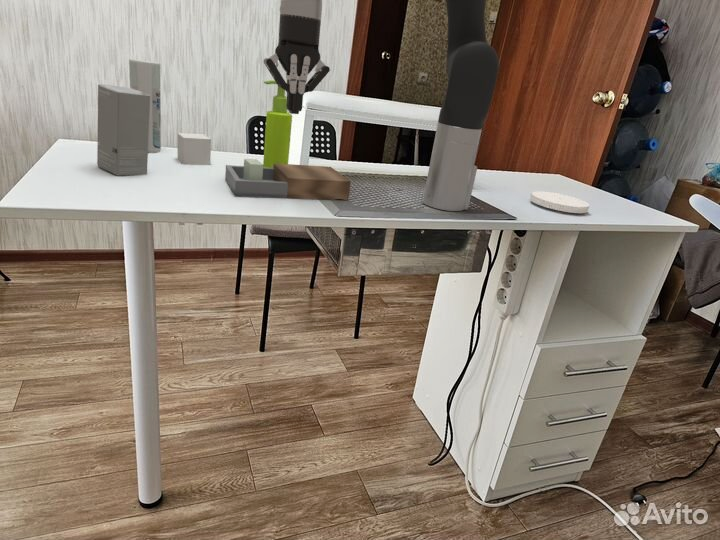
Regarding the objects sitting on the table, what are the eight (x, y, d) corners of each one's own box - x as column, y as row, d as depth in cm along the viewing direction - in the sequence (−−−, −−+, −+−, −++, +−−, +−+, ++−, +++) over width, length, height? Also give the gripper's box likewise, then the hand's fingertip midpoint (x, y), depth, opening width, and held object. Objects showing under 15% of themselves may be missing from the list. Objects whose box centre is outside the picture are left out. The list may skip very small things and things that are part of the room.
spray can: (132, 146, 122) (129, 58, 115) (161, 148, 125) (160, 62, 117) (131, 151, 117) (128, 59, 109) (161, 153, 119) (160, 63, 112)
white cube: (210, 165, 116) (211, 139, 113) (183, 164, 113) (183, 137, 110) (203, 159, 120) (203, 134, 118) (177, 158, 117) (177, 132, 115)
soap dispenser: (256, 165, 122) (261, 78, 114) (283, 166, 125) (290, 82, 117) (262, 171, 117) (268, 80, 109) (290, 172, 120) (298, 84, 112)
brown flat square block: (328, 184, 114) (330, 166, 113) (348, 200, 103) (350, 181, 102) (272, 181, 109) (273, 163, 108) (286, 198, 98) (288, 178, 97)
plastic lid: (517, 199, 129) (520, 190, 128) (559, 201, 135) (562, 192, 134) (554, 216, 118) (557, 206, 117) (598, 217, 123) (602, 208, 122)
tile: (256, 159, 101) (244, 158, 100) (263, 164, 97) (250, 164, 96) (255, 183, 103) (243, 183, 102) (261, 190, 99) (248, 189, 98)
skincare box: (96, 167, 100) (91, 83, 94) (131, 165, 105) (128, 85, 99) (117, 177, 95) (113, 89, 89) (152, 174, 101) (151, 92, 95)
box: (272, 181, 109) (273, 167, 108) (286, 198, 98) (288, 183, 97) (225, 179, 105) (225, 165, 104) (234, 196, 94) (235, 180, 93)
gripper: (269, 8, 86) (264, 113, 93) (341, 20, 91) (331, 118, 98) (260, 10, 92) (256, 108, 99) (328, 21, 98) (320, 113, 104)
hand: (293, 113), depth 98 cm, fingers closed
